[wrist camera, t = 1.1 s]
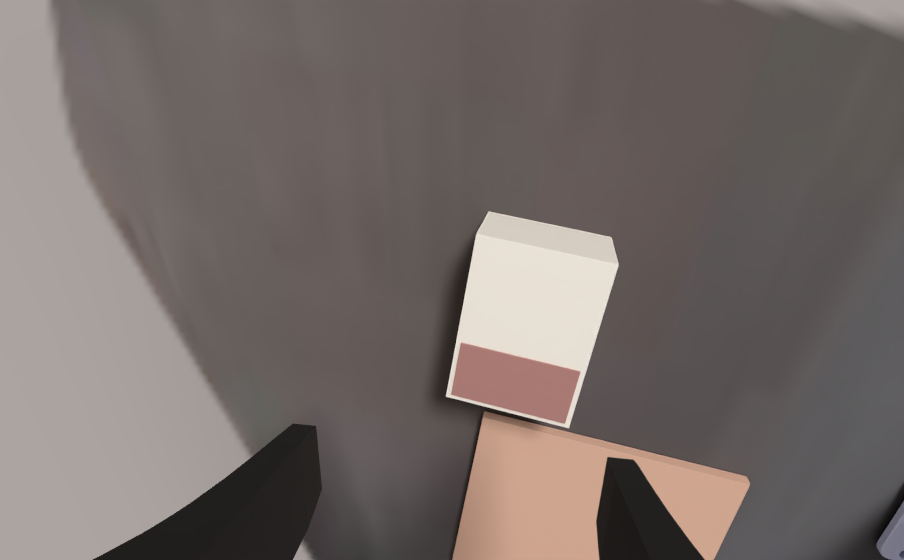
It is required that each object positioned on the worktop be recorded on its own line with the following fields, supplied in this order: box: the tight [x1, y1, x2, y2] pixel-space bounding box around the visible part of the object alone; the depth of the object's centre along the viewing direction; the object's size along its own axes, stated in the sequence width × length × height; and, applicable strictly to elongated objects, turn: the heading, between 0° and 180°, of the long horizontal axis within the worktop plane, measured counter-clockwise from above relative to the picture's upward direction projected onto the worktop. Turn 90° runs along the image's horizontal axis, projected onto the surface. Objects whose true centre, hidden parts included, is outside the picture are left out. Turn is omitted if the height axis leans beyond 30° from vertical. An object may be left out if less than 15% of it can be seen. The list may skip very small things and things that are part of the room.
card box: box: [446, 212, 619, 428], centre depth 21 cm, size 5×7×4 cm
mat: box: [452, 411, 750, 560], centre depth 26 cm, size 12×10×1 cm
